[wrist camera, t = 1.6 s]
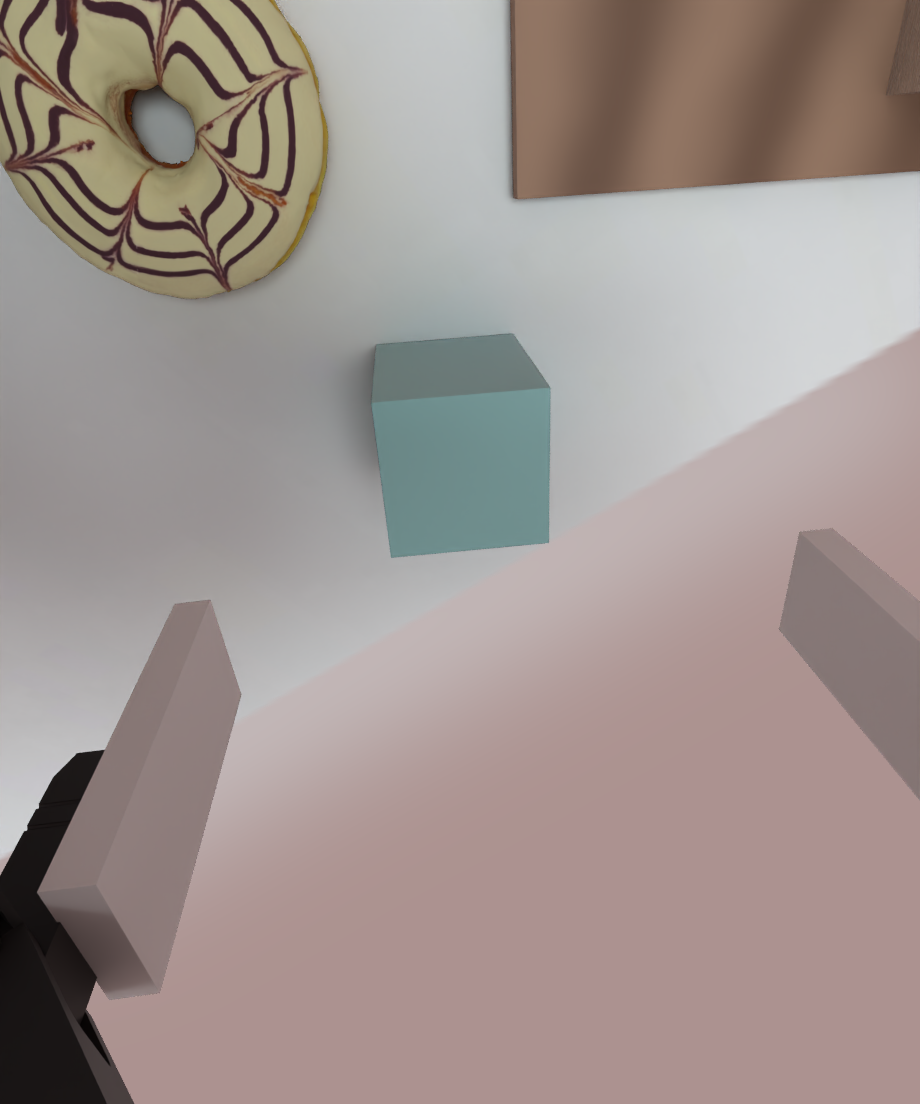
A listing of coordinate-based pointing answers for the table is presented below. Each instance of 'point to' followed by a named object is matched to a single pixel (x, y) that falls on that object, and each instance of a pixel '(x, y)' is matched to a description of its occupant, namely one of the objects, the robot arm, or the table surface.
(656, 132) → the board
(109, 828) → the robot arm
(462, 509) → the teal rectangular block
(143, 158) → the decorated donut
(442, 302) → the table surface
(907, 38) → the tall post
